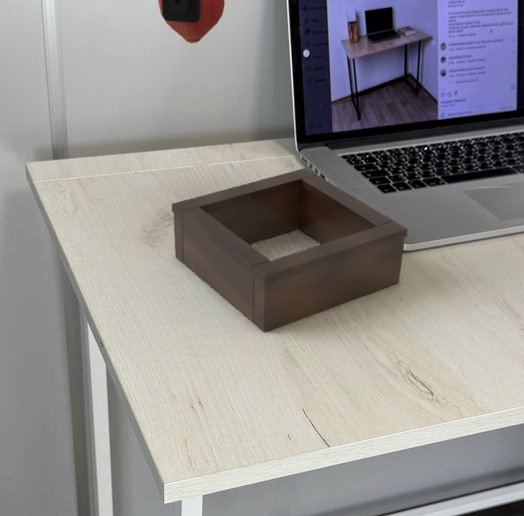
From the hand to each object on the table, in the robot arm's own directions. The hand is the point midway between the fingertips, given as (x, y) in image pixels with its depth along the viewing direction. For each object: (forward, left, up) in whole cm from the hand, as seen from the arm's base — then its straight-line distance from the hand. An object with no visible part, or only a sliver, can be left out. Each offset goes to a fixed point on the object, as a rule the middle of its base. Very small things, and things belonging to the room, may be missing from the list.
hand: (191, 8), depth 78 cm
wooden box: (-1, +14, -20) cm, 24 cm away
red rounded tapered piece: (0, 0, -3) cm, 3 cm away
